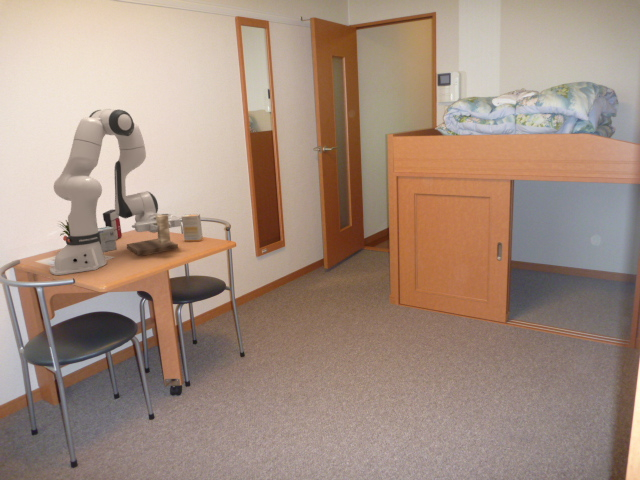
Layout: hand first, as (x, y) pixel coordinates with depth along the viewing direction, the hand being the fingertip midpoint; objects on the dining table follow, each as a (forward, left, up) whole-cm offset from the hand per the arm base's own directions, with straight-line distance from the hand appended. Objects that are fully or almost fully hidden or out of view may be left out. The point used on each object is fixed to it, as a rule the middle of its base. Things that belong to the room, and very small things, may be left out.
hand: (163, 226), depth 239 cm
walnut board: (0, +21, -14) cm, 25 cm away
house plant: (-31, +46, -14) cm, 57 cm away
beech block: (0, +1, -7) cm, 7 cm away
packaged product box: (-8, +56, -14) cm, 58 cm away
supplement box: (+21, +21, -14) cm, 33 cm away
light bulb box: (-19, +35, -14) cm, 42 cm away
